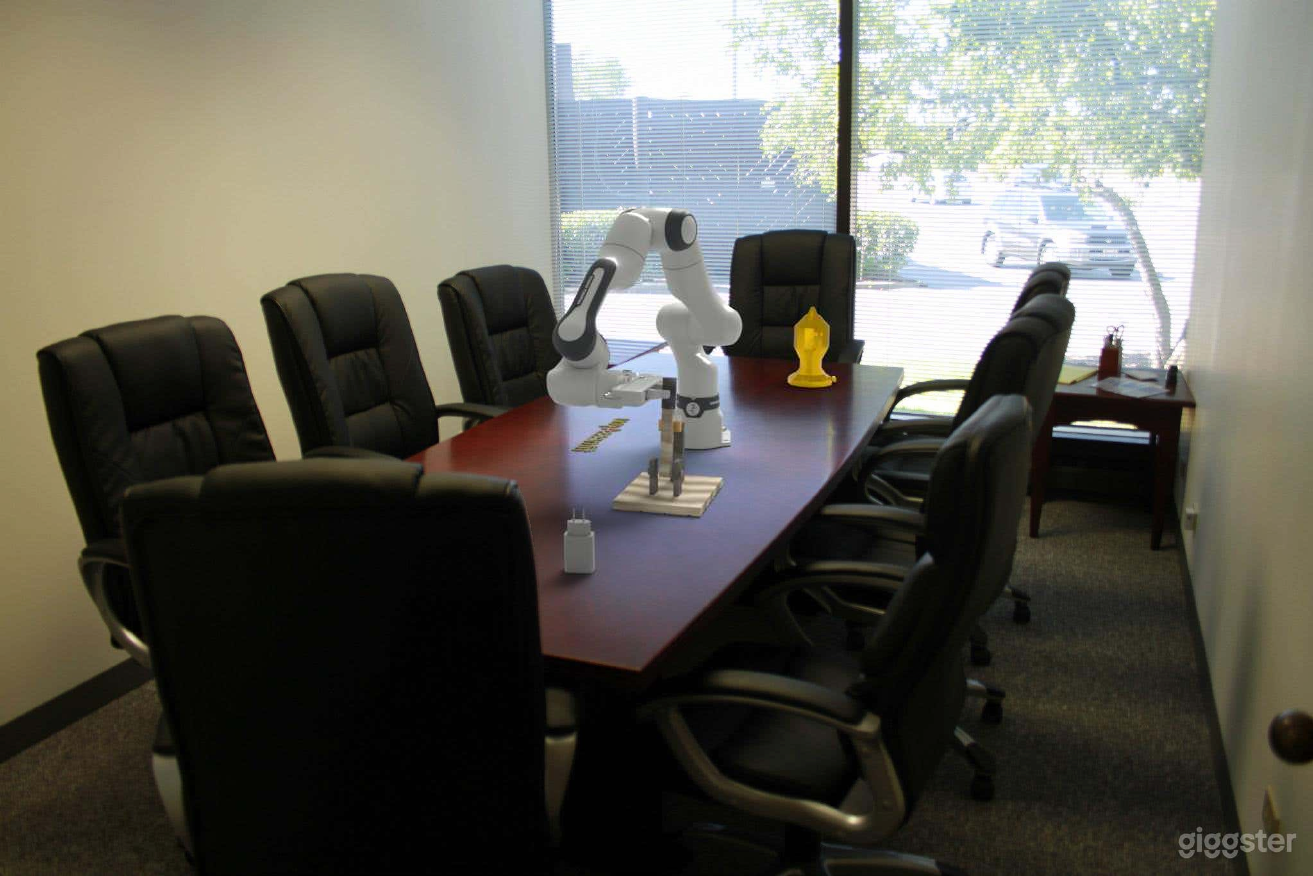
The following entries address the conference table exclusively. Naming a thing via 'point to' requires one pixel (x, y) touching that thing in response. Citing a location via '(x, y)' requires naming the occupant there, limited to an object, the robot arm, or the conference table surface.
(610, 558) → the conference table surface
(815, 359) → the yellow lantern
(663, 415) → the lever
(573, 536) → the power adapter
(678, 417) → the pin
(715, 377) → the robot arm
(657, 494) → the frame
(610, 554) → the conference table surface
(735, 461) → the conference table surface
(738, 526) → the conference table surface
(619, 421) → the text sign
